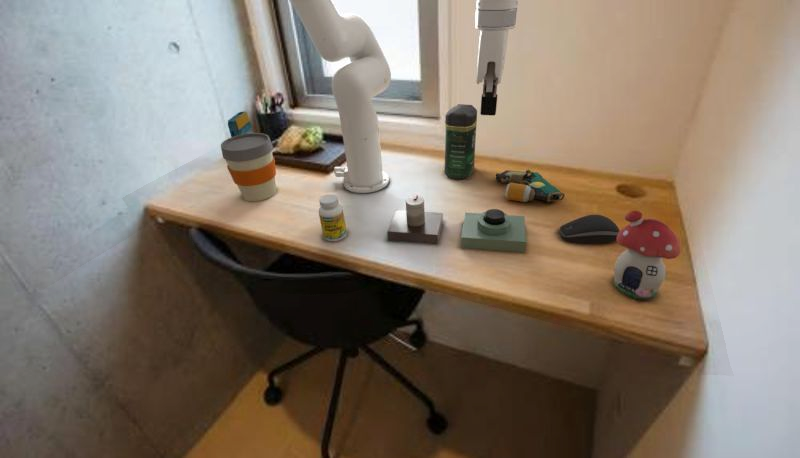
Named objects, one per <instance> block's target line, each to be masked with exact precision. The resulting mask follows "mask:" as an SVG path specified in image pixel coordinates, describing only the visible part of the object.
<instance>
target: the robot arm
mask: <svg viewBox="0 0 800 458" xmlns="http://www.w3.org/2000/svg"><path fill="white" fill-rule="evenodd" d="M288 1H289V3H291V5H292V7H293V8H294V10H295V12H296V14H297V16H298V17H299V20H300V22H301V24H302V26H303V27H304V29H305V31H306V33H307V35H308V36H309V38H310V40H311V42H312V44H313V46H314V47H315V49H316V51H317V53H318V55H319V56H320V57H321V58H322V60H324V61H326V62H328V63H336V62H341V61H343V60H345V59H349V61H350V62H348V63H346V64H343V65H342V66H340V67H339V68H338V69H337V70H336V71H335V73H334V74H333V77H332V79H331V91H332V95H333V98H334V101H335V104H336V108H337V111H338V115H339V121H340V128H341V134H342V142H343V147H344V155H345V162H346V166H344V167H343V166H334V168H333V173H334V174H335V177H336V178H344V179H343V181H342V182H343V187H344V188H345V189H346V190H347V191H349V192H352V193H357V194H368V193H369V194H370V193H375V192H377V191H380V190H382V189H384V188H385V187H387V186H388V185H389V183H390V176H389V175H388V174H387V173H386V172H385V171H383V160H382V159H383V158H382V149H381V137H380V127H379V119H378V118H379V117H378V114H377V111H376V109H375V107H374V104H373V101H372V99H373V98H375V97H376V96H379V95H380V94H382V93H383V92H385V91H386V90H387V89H388V87H390V84H391V80H392V73H391V68H390V65H389V63H388V60H387V58H386V57H385V54H384V52H383V50H382V48H381V46H380V44H379V43H378V40H377V38H376V35H375V34H374V32H373V30H372V28H371V27H370V25H369V23H368V22H367V21H366V20H365V19H364V18H363V17H362V16H361V15H359V14H356V13H354V12H353V13H352V12H347V13H343V14H341V13H340V11H338V9H337V7H336V5H335V3H334V1H333V0H288ZM518 4H519V0H476V5H475V6H476V9H475V24H474V26H475V27H474V29H476V30H480V31H479V39H478V51H477V62H476V63H477V65H476V78H475V83H476V84H477V85H479V84H480V83H481V84H482V93H481V99H480V113H479V114H480V116H496V114H497V107H498V106H497V104H498V94H497V93H498V85H499V84H501V81H502V77H503V73H504V69H505V62H506V55H507V49H508V40H509V39H508V37H509V31H510V30H513V29H515V28H516V23H517V12H518Z"/></svg>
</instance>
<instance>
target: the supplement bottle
mask: <svg viewBox="0 0 800 458" xmlns="http://www.w3.org/2000/svg"><path fill="white" fill-rule="evenodd" d="M339 202H340V201H339V196H338V195H336V194H332V193H330V194H325V195H323V196H320V198H319V206H320V207H319V208H318V217H319V221H320V227H321V231H322V235H323V239H324V240H326V241H328V242H338V241H341V240H343V239H344V238H345V237H346V236H347V233H348V231H347V224H346V218H345V212H344V207H343V205H342V204H340V203H339Z"/></svg>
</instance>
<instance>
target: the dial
mask: <svg viewBox="0 0 800 458" xmlns="http://www.w3.org/2000/svg"><path fill="white" fill-rule="evenodd" d="M405 211H406V216H407V224H408V225H410V226H421V225H423V224H424V222H425V212H426V211H425V199H424V198H423V196H420V195H418V194H414V195H411V196H408V197H407V198H406V199H405Z"/></svg>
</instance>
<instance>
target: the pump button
mask: <svg viewBox="0 0 800 458" xmlns="http://www.w3.org/2000/svg"><path fill="white" fill-rule="evenodd" d="M484 212H485V222H486V223H487V224H490V225H501V224H503V223H504V216H505V214H504V213H505V212H504V211H503V210H501V209H497V208H490V209H487V210H486V211H484Z"/></svg>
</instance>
